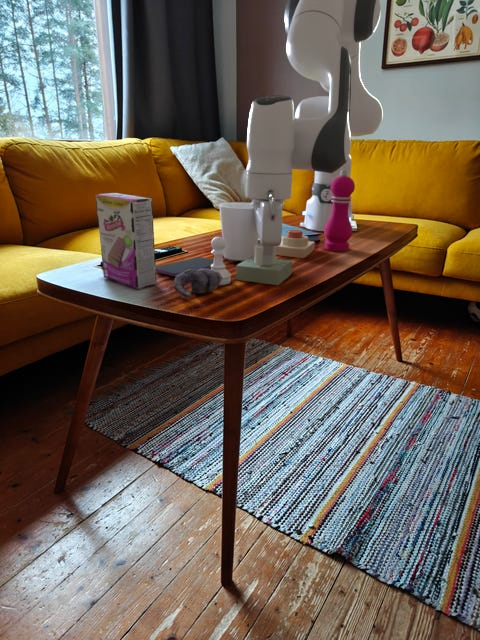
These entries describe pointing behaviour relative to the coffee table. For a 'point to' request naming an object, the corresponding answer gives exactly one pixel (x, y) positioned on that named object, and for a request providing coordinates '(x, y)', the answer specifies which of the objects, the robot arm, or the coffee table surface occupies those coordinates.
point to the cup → (238, 231)
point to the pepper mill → (339, 214)
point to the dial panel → (264, 271)
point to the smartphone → (184, 266)
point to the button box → (295, 247)
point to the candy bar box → (127, 239)
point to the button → (295, 234)
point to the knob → (259, 255)
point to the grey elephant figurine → (197, 281)
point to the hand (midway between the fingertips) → (265, 258)
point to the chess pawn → (220, 259)
